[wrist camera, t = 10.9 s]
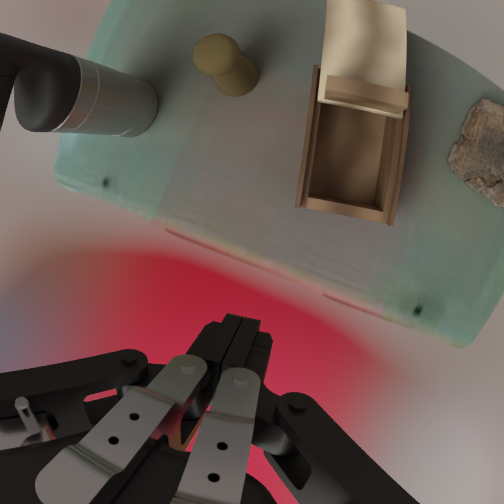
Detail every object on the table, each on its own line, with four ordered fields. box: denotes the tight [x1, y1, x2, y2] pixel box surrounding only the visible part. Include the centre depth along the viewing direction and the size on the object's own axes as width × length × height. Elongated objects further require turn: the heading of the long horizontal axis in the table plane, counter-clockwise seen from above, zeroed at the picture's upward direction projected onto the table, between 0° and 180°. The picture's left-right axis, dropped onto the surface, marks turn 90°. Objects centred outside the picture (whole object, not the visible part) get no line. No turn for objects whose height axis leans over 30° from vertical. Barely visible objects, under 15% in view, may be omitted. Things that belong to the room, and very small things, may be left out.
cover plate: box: [317, 0, 409, 119], centre depth 24 cm, size 9×15×5 cm, turn 173°
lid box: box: [295, 65, 412, 226], centre depth 33 cm, size 11×16×8 cm
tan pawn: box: [193, 34, 259, 96], centre depth 31 cm, size 6×6×11 cm
